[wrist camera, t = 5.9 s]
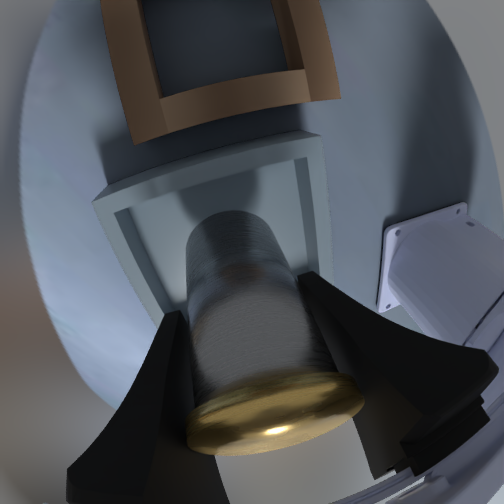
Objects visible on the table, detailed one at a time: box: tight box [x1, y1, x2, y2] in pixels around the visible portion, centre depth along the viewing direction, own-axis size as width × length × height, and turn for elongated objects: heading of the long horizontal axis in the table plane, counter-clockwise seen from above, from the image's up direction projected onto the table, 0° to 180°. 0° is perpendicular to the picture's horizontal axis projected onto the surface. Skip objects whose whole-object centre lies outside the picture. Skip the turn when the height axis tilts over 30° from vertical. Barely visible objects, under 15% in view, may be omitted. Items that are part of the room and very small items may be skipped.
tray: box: [91, 130, 334, 329], centre depth 14 cm, size 10×10×2 cm
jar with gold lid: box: [185, 210, 365, 456], centre depth 9 cm, size 5×5×8 cm
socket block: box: [100, 0, 341, 146], centre depth 8 cm, size 9×9×2 cm
